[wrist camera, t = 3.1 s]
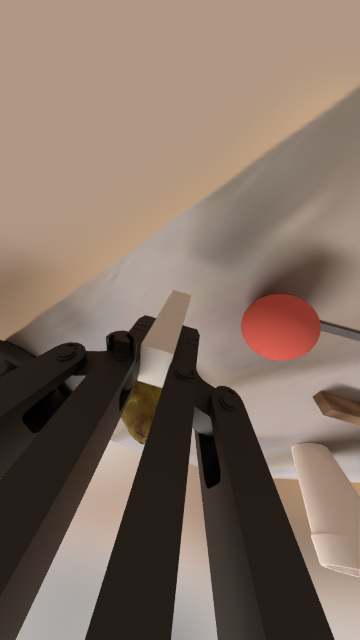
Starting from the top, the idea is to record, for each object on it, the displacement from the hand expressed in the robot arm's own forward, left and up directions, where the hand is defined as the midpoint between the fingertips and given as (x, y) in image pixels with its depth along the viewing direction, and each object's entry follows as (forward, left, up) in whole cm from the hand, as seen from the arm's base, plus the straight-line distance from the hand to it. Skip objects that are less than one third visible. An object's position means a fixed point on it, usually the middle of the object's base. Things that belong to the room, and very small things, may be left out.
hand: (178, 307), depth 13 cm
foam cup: (+32, -26, -5) cm, 42 cm away
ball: (+9, 0, -2) cm, 9 cm away
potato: (-2, -18, -5) cm, 19 cm away
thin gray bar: (+17, 0, -5) cm, 18 cm away
